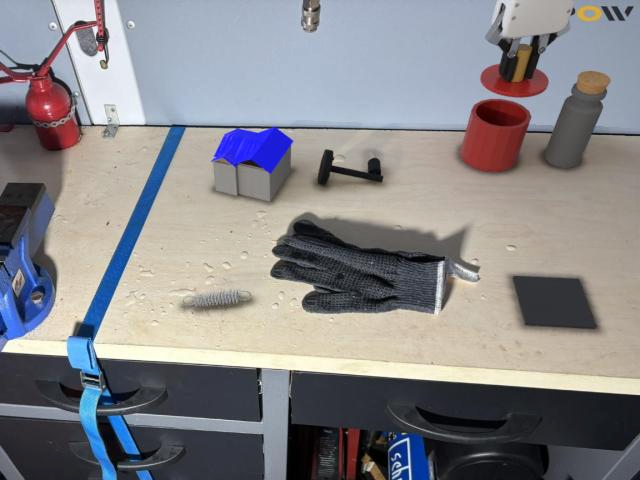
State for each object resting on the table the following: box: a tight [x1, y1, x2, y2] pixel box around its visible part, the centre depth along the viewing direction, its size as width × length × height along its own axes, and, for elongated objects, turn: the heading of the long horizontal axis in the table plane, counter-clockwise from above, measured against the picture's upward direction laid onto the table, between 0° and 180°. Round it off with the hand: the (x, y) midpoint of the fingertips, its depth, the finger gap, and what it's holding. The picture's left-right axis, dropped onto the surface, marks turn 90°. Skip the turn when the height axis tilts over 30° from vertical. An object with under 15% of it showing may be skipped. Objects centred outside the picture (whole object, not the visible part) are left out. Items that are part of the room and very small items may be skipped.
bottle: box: [543, 70, 612, 169], centre depth 100 cm, size 6×6×15 cm
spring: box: [181, 289, 252, 308], centre depth 86 cm, size 10×2×2 cm, turn 95°
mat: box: [512, 275, 597, 330], centre depth 83 cm, size 9×9×1 cm
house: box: [210, 126, 294, 202], centre depth 103 cm, size 10×11×8 cm
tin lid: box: [479, 43, 550, 99], centre depth 95 cm, size 10×10×6 cm
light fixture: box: [317, 148, 385, 186], centre depth 105 cm, size 6×11×13 cm
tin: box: [460, 98, 532, 173], centre depth 104 cm, size 9×9×8 cm
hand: (515, 75), depth 96 cm, fingers closed on tin lid, 2 cm apart
